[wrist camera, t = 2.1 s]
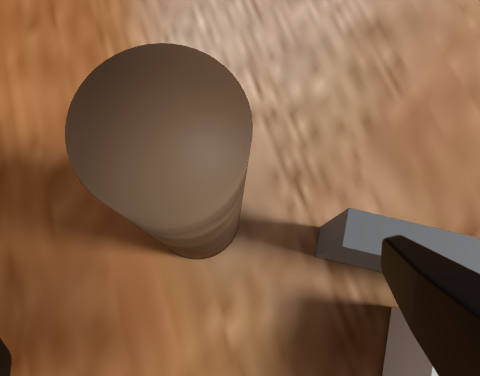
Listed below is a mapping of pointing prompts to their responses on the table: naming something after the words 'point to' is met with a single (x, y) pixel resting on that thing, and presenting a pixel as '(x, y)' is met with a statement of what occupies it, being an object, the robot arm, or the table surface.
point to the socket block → (404, 350)
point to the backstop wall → (379, 227)
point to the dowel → (164, 144)
